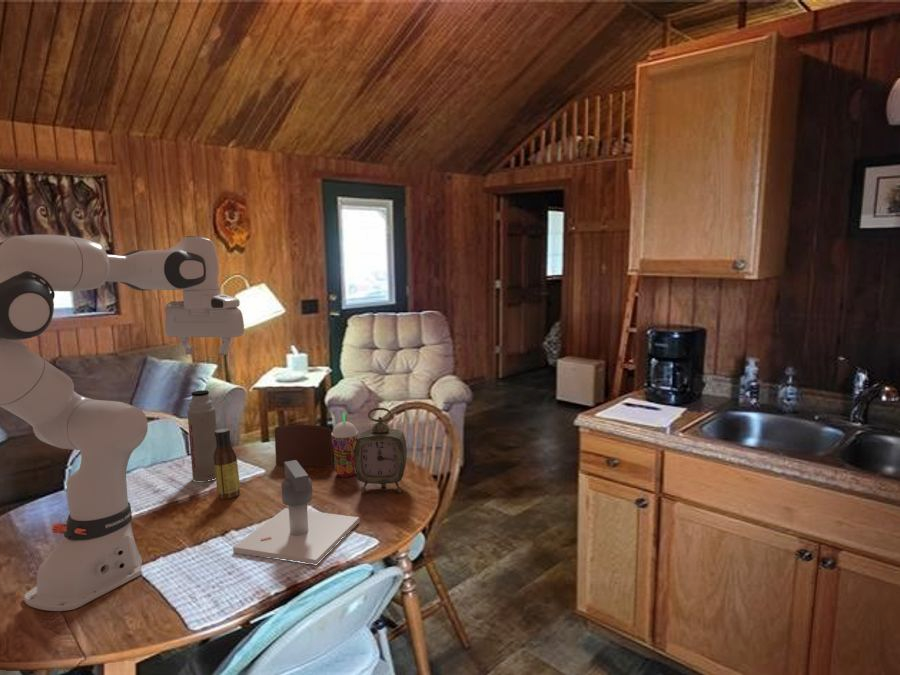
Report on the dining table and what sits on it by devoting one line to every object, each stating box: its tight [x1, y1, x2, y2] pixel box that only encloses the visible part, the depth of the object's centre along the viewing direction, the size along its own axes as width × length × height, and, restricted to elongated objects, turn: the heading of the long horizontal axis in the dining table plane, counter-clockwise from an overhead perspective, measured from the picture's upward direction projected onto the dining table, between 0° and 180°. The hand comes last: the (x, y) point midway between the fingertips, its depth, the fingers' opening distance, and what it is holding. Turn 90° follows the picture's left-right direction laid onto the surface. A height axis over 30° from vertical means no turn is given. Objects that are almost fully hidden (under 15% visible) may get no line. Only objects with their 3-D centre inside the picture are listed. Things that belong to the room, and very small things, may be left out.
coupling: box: [280, 460, 314, 507], centre depth 141 cm, size 12×7×8 cm, turn 28°
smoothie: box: [331, 412, 359, 478], centre depth 183 cm, size 8×8×20 cm
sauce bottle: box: [214, 427, 241, 500], centre depth 168 cm, size 6×6×20 cm
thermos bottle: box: [186, 389, 218, 482], centre depth 181 cm, size 8×8×28 cm
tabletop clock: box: [354, 407, 408, 493], centre depth 170 cm, size 14×9×25 cm, turn 88°
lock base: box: [232, 503, 360, 564], centre depth 143 cm, size 22×22×10 cm
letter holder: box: [274, 424, 335, 467], centre depth 196 cm, size 10×20×14 cm, turn 84°
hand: (206, 354), depth 150 cm, fingers open, 8 cm apart
